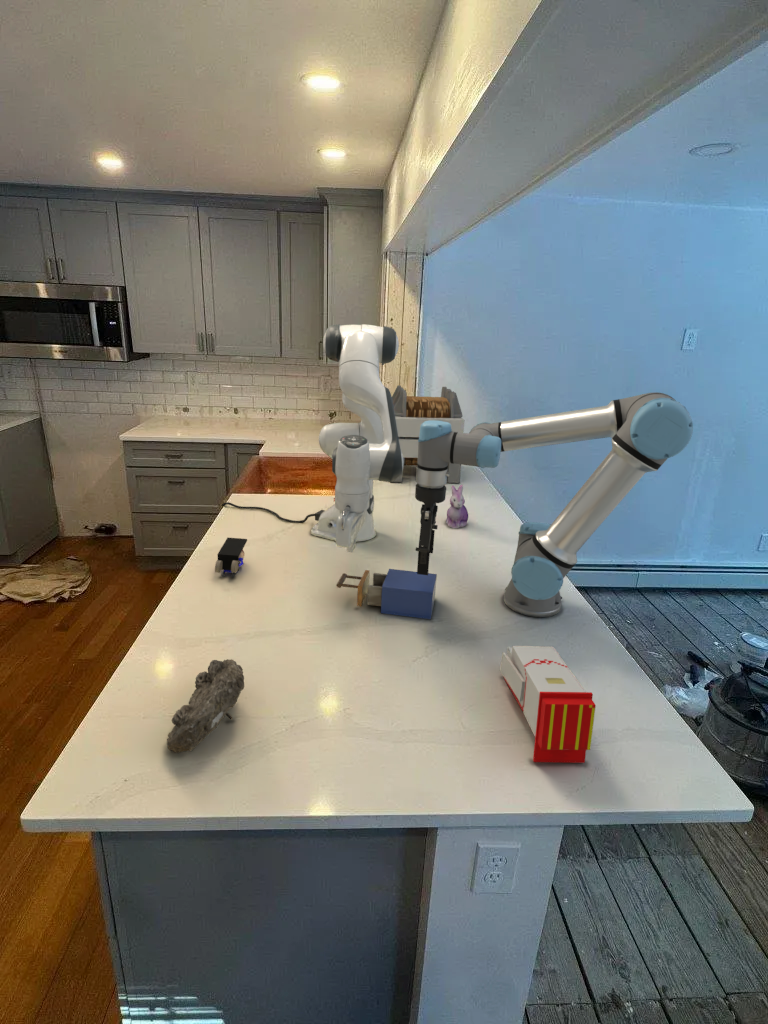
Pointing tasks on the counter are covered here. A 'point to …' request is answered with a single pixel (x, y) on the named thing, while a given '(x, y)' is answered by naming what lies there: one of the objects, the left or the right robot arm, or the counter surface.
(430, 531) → the right robot arm
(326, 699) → the counter surface
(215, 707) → the fossil
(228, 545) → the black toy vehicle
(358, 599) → the wooden drawer
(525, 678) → the toy
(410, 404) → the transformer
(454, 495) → the figurine
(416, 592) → the blue square-sided box
